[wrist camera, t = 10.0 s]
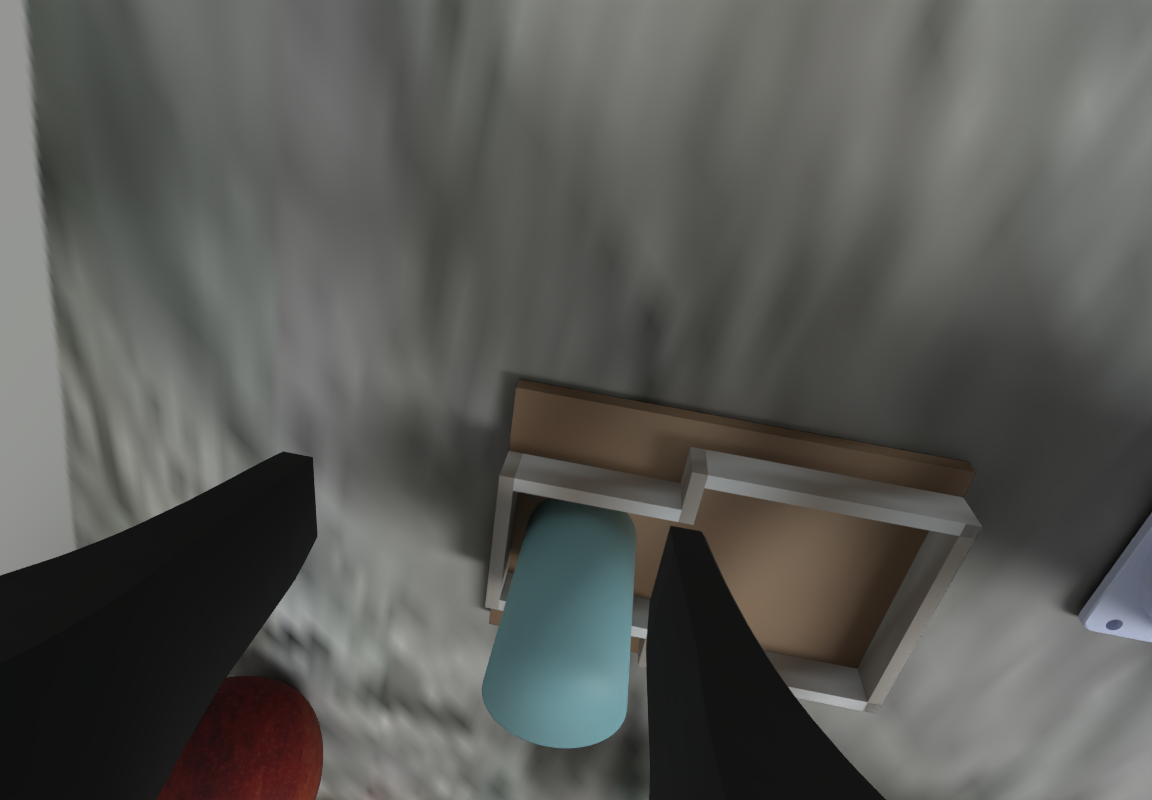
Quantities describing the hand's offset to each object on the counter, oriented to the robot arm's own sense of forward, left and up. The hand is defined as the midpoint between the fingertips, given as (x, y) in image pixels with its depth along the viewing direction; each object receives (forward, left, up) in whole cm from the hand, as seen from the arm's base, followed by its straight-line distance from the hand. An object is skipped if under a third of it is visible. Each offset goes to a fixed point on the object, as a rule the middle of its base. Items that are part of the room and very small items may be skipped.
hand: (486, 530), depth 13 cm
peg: (-2, +7, -9) cm, 11 cm away
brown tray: (-6, +7, -9) cm, 13 cm away
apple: (+11, +21, -10) cm, 26 cm away
